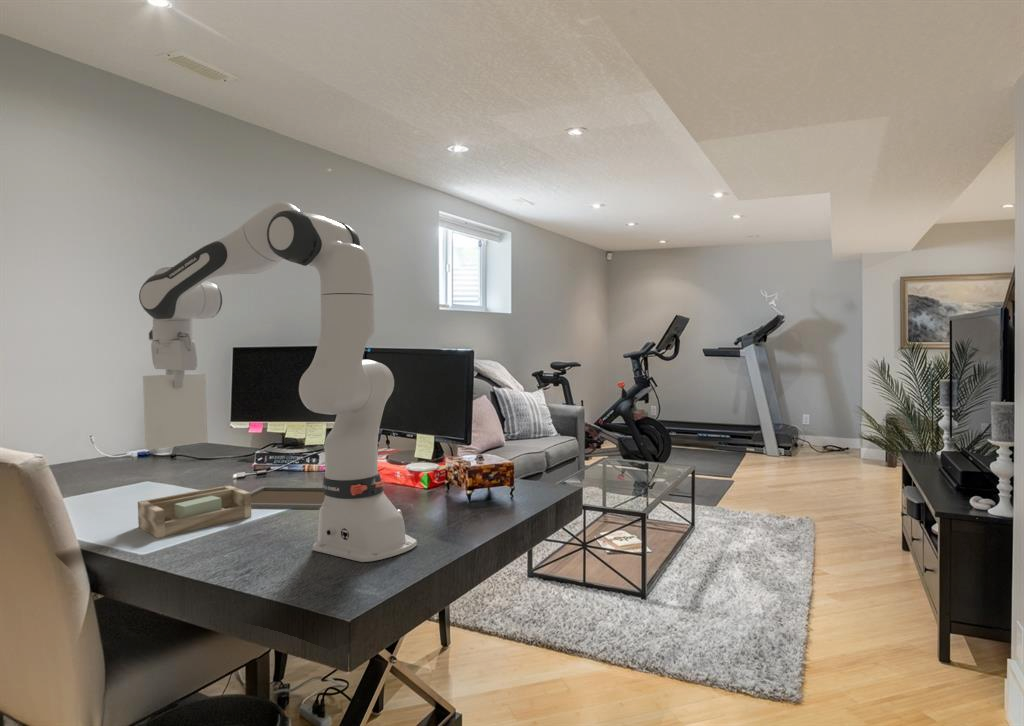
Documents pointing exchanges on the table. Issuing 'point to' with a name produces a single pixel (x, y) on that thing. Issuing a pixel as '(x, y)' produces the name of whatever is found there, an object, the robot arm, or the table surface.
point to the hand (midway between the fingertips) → (175, 387)
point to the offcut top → (197, 506)
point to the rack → (160, 508)
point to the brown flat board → (287, 497)
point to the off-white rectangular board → (174, 411)
